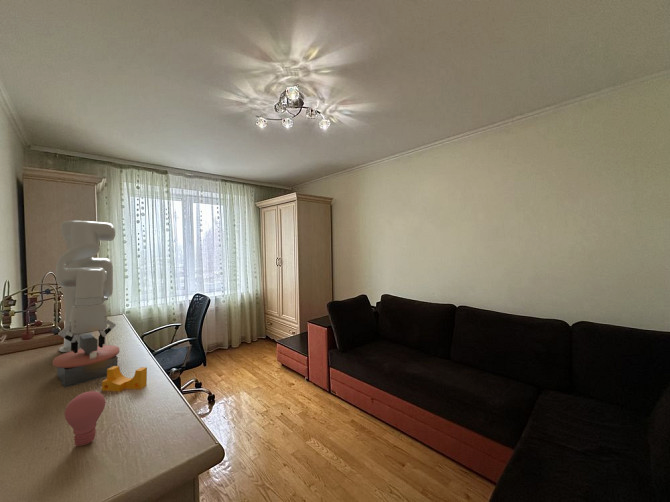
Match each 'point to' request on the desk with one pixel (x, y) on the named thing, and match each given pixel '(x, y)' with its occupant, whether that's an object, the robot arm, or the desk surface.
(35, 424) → the desk surface
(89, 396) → the light bulb
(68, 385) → the block
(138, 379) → the pipe clamp
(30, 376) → the desk surface
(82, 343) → the handwheel
